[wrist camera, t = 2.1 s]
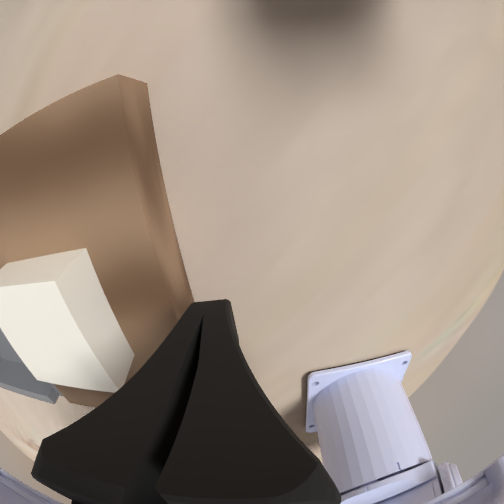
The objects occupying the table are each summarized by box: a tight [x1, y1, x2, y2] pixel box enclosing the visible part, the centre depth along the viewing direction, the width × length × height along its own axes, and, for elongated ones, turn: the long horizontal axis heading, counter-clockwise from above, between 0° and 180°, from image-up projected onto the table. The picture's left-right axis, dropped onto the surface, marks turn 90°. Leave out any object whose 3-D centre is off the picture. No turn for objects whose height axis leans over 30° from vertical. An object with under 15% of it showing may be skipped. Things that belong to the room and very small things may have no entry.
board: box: [0, 75, 194, 407], centre depth 12 cm, size 18×12×3 cm, turn 7°
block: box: [0, 248, 135, 393], centre depth 10 cm, size 6×6×2 cm
